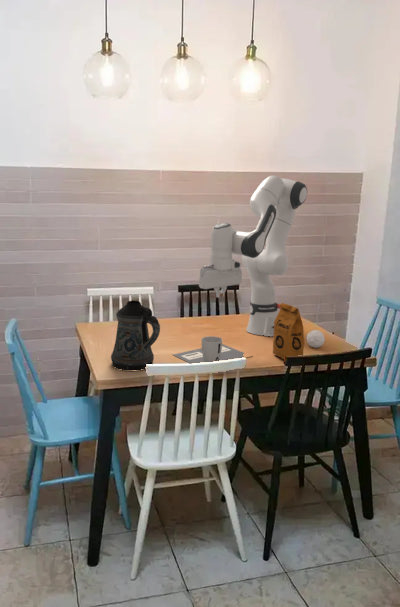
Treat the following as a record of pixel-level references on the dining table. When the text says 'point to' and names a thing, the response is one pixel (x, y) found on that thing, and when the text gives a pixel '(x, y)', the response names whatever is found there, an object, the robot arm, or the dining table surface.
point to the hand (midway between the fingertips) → (220, 297)
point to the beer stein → (134, 337)
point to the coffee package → (288, 332)
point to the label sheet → (197, 355)
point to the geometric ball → (315, 338)
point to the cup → (211, 348)
